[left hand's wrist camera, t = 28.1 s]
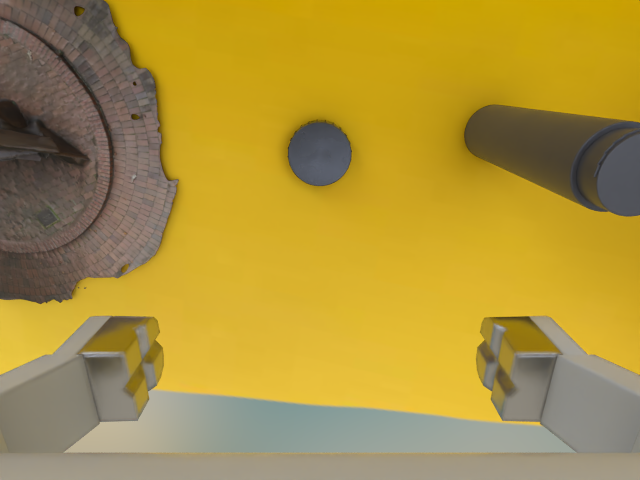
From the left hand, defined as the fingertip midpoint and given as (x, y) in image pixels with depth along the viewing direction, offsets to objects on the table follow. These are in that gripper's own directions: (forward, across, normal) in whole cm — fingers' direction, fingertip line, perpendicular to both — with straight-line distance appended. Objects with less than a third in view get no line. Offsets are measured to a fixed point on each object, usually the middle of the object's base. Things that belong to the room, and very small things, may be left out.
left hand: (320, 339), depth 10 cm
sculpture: (+30, -29, +2) cm, 42 cm away
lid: (+28, 0, 0) cm, 28 cm away
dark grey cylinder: (+30, +16, +2) cm, 34 cm away
